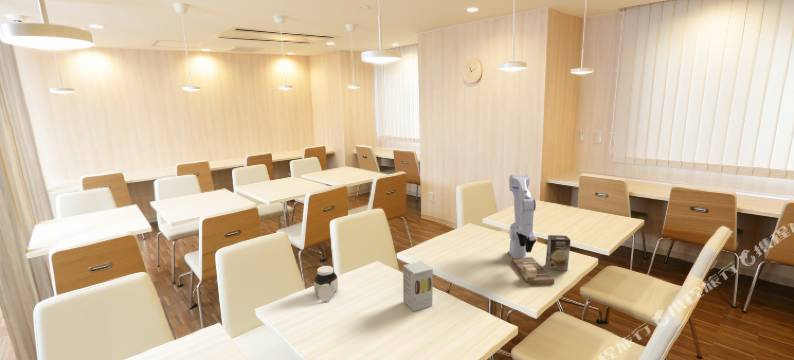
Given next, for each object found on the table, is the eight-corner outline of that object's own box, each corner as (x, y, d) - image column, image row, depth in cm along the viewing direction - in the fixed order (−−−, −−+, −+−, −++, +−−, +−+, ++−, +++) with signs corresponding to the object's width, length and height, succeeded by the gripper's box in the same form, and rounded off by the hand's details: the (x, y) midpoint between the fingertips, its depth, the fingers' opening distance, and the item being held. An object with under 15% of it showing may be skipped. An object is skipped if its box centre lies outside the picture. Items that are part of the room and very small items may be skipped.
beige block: (521, 275, 180) (522, 265, 179) (537, 275, 180) (538, 264, 179) (526, 280, 175) (526, 269, 174) (542, 280, 175) (542, 269, 174)
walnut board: (511, 262, 196) (511, 258, 196) (531, 261, 197) (532, 257, 196) (530, 285, 173) (530, 280, 172) (553, 284, 173) (554, 278, 173)
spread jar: (331, 286, 176) (329, 262, 173) (345, 294, 168) (344, 270, 165) (308, 295, 168) (306, 271, 165) (322, 305, 160) (321, 280, 157)
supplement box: (413, 312, 153) (413, 273, 150) (402, 301, 161) (401, 264, 158) (433, 305, 158) (433, 268, 154) (421, 295, 166) (421, 260, 162)
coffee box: (548, 270, 187) (551, 239, 184) (545, 264, 193) (547, 234, 190) (568, 270, 186) (570, 239, 183) (563, 265, 192) (566, 235, 189)
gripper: (513, 218, 191) (512, 243, 194) (524, 228, 177) (523, 255, 180) (526, 217, 191) (525, 243, 194) (539, 227, 177) (537, 254, 180)
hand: (525, 249), depth 187 cm, fingers open, 7 cm apart
